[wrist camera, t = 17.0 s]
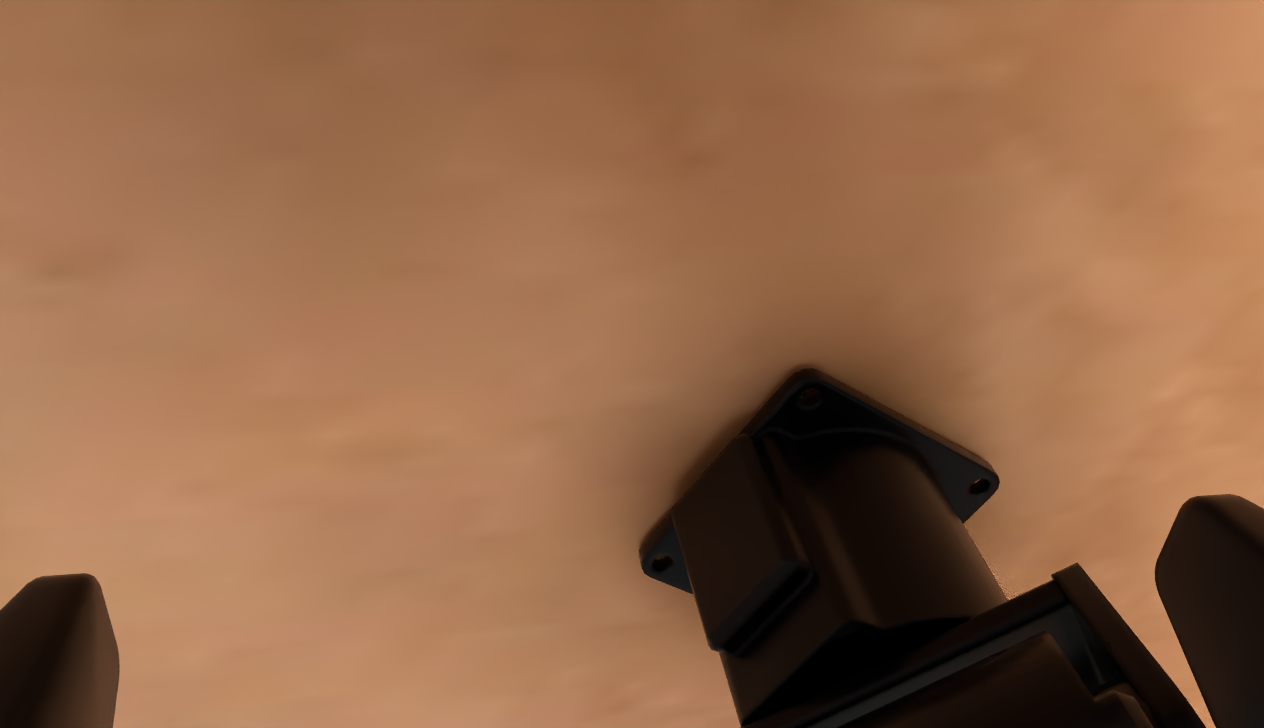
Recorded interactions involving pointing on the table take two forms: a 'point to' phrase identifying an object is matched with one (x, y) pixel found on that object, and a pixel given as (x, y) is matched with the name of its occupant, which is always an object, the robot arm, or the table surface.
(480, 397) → the table surface
